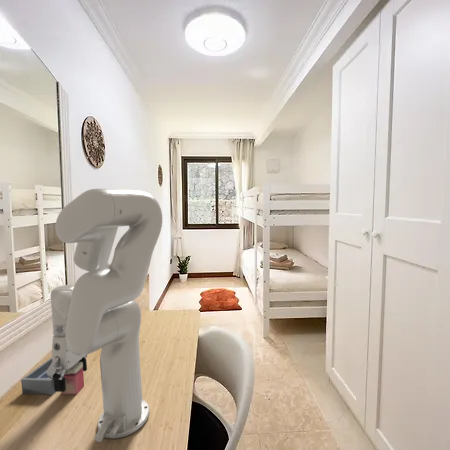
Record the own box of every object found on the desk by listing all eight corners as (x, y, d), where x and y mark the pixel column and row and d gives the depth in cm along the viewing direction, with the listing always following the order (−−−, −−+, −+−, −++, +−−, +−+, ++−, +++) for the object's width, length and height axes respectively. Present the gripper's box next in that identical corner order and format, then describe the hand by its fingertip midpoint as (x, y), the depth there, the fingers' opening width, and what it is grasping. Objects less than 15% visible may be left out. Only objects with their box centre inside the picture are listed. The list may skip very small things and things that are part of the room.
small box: (60, 395, 80) (58, 369, 80) (69, 385, 84) (67, 361, 84) (77, 394, 80) (75, 369, 80) (84, 385, 84) (83, 361, 84)
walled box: (52, 395, 80) (50, 380, 80) (22, 393, 82) (21, 379, 81) (84, 365, 95) (83, 353, 95) (58, 365, 96) (57, 353, 96)
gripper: (58, 340, 72) (62, 401, 73) (96, 315, 89) (99, 364, 90) (33, 340, 73) (38, 399, 74) (75, 314, 90) (79, 363, 91)
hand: (71, 380), depth 82 cm, fingers open, 9 cm apart
